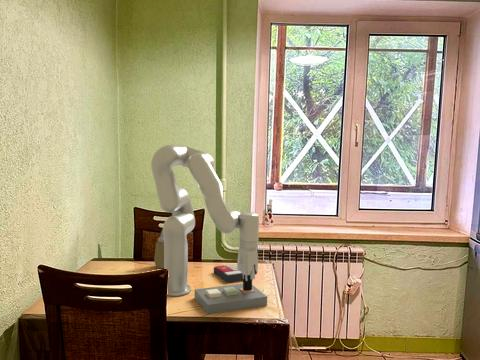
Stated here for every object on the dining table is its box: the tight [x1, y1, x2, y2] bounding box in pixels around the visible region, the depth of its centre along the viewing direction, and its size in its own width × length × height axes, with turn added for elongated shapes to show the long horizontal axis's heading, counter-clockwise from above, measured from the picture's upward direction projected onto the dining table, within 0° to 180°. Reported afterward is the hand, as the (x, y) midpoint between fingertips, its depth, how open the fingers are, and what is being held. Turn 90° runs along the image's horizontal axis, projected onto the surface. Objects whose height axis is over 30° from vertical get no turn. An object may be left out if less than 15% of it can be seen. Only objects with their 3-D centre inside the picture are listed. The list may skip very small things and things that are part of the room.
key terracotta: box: [239, 288, 254, 294], centre depth 163 cm, size 4×4×2 cm
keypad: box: [194, 283, 268, 315], centre depth 160 cm, size 24×16×4 cm, turn 114°
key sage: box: [223, 287, 238, 296], centre depth 160 cm, size 4×4×2 cm
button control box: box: [213, 263, 243, 284], centre depth 190 cm, size 11×4×15 cm
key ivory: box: [206, 289, 221, 298], centre depth 157 cm, size 4×4×2 cm
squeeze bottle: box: [153, 230, 164, 270], centre depth 199 cm, size 8×8×18 cm
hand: (247, 289), depth 162 cm, fingers closed
